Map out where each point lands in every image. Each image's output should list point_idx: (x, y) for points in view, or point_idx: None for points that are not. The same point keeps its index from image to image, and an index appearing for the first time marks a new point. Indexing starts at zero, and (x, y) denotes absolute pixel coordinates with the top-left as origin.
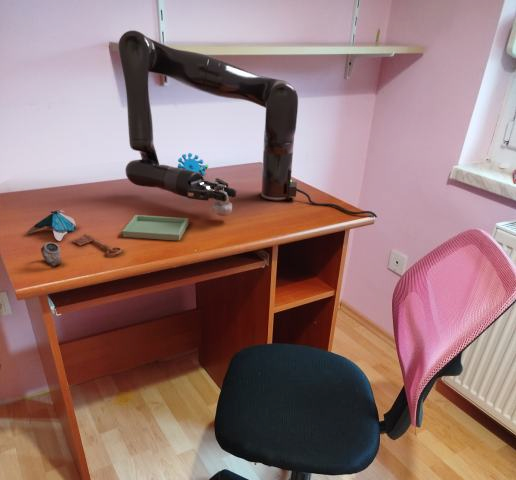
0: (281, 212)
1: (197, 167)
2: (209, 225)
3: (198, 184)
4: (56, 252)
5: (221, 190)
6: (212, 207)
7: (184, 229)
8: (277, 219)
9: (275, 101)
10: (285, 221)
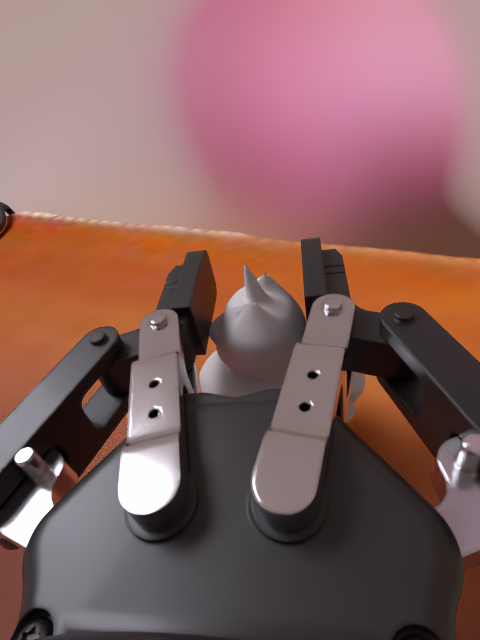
0: (33, 337)
1: None
2: (389, 458)
3: (320, 490)
4: None
5: (248, 301)
6: (364, 379)
7: None
8: (118, 309)
9: None
10: (126, 287)
